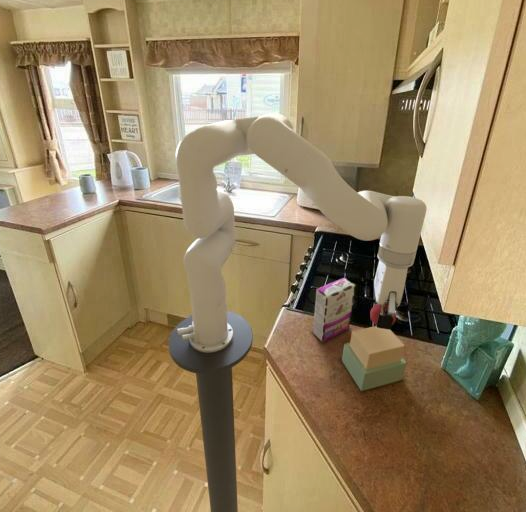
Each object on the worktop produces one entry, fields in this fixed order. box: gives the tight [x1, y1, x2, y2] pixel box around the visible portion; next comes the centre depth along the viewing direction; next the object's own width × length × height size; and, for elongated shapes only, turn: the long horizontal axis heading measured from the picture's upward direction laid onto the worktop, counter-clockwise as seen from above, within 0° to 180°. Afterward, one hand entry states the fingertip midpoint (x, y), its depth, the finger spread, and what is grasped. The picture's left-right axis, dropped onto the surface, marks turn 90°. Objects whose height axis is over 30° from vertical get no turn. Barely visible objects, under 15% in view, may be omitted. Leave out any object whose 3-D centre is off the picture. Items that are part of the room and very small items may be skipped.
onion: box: [369, 301, 397, 329], centre depth 75 cm, size 6×6×8 cm
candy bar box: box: [312, 277, 356, 343], centre depth 92 cm, size 11×5×16 cm, turn 123°
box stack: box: [341, 325, 408, 392], centre depth 81 cm, size 12×10×11 cm
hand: (382, 317), depth 76 cm, fingers closed on onion, 5 cm apart
